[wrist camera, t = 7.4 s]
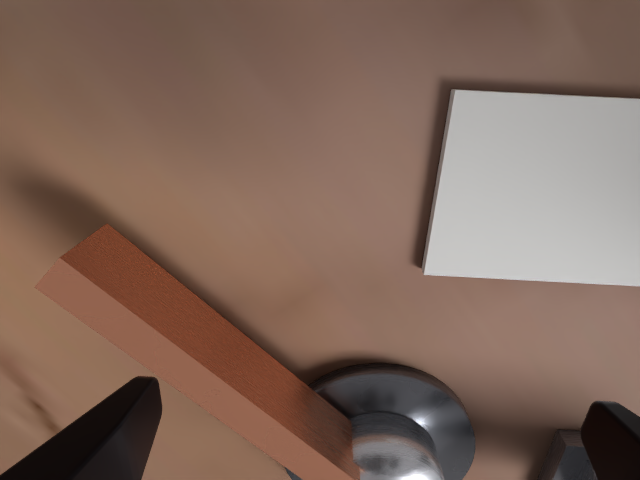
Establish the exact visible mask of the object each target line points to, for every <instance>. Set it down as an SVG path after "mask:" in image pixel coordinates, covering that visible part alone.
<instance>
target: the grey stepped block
mask: <svg viewBox="0 0 640 480" xmlns="http://www.w3.org/2000/svg"><path fill="white" fill-rule="evenodd" d="M580 432H581V431H574V430H557V431H556V434H555V436H554V439H553V441H552V444H551V446H550V449H549V451H548V454H547V457H546V459H545V462H544V464H543V467H542V469H541V472H540V474H539V477H538V479H537V480H597V478H596V475H595V473H594V470H593V468H592V465H591V463H590V461H589V458H588V456H587V453H586V451H585V448H584V446H583V443H582V440H581V433H580Z"/></svg>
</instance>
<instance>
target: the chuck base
mask: <svg viewBox="0 0 640 480" xmlns="http://www.w3.org/2000/svg"><path fill="white" fill-rule="evenodd" d="M308 387H310V388H311V389H312V390H313V391H315V392H316V393H317V394H318V395H320V396H321V397H322V398H323V399H324V400H326V401H327V402H328V403H329V404H331V405H332V406H333V407H334V408H336V409H337V410H338V411H339V412H341V413H342V414H343V415H344V416H345V417H347V418H348V419H349V418H352V417H355V416H359V415H364V414H371V413H387V414H394V415H399V416H402V417H406V418H408V419H410V420H413V421H414V422H416V423H418V424H419V425H421V426H422V427H423V428H424V429H425V430H426V431H427V432H428V433H429V434H430V435H431V437H432V439H433V441H434V443H435V446H436V450H437V454H438V457H439V461H440V465H441V469H442V472H443V476H444V480H462V479H463V477H464V476H465V475H466V473H467V472H468V470H469V468H470V466H471V464H472V461H473V458H474V453H475V437H474V431H473V429H472V426H471V423H470V421H469V418H468V415H467V413H466V410H465V408H464V406H463V404H462V402H461V401H460V399H459V398H458V397H457V395H456V394H455V393H454V392H453V391H452V390H451V389H450V388H449V387H448V386H446V385H445V384H444V383H443V382H441V381H440V380H438V379H436V378H435V377H433V376H431V375H429V374H427V373H425V372H422V371H419V370H416V369H413V368H410V367H405V366H401V365H394V364H362V365H355V366H350V367H346V368H343V369H339V370H336V371H333V372H331V373H329V374H327V375H324V376H322V377H321V378H319V379H317V380H316V381H314V382H312V383H311V384H310V385H308ZM285 469H286V471H287V473H288V474H289V476H290V477H291V479H292V480H303V479H301V478H300V477H298V476H297V475H296V474H294V473H293V472H291V471H290V470H289V469H287V468H286V467H285Z"/></svg>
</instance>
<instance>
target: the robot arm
mask: <svg viewBox="0 0 640 480" xmlns="http://www.w3.org/2000/svg"><path fill="white" fill-rule="evenodd" d="M161 415H162V402H161V395H160V389H159V383H158V380H157V379H156V378H155V377H145V376H138V377H135V378H133V379H132V380H130V381H129V382H128V383H126V384H125V385H123V386H122V387H121V388H119V389H118V390H117V391H115V392H114V393H112V394H111V395H110V396H108V397H107V398H106V399H104V400H103V401H101V402H100V403H99V404H97V405H96V406H95V407H93V408H92V409H90V410H89V411H88V412H86V413H85V414H84V415H82V416H81V417H79V418H78V419H77V420H75V421H74V422H73V423H71V424H70V425H68V426H67V427H66V428H64V429H63V430H62V431H60V432H59V433H57V434H56V435H55V436H53V437H52V438H51V439H49V440H48V441H46V442H45V443H44V444H42V445H41V446H40V447H38V448H37V449H35V450H34V451H33V452H31V453H30V454H29V455H27V456H26V457H24V458H23V459H22V460H20V461H19V462H18V463H16V464H15V465H13V466H12V467H11V468H9V469H8V470H7V471H5V472H4V473H2V474H1V475H0V480H141V479H142V475H143V472H144V469H145V466H146V463H147V460H148V457H149V454H150V450H151V447H152V444H153V441H154V438H155V435H156V432H157V429H158V425H159V422H160V419H161ZM580 433H581V440H582V443H583V446H584V448H585V451H586V453H587V456H588V458H589V461H590V463H591V465H592V468H593V470H594V473H595V475H596V478H597V480H640V417H639V416H637V415H636V414H634V413H633V412H631V411H630V410H628V409H627V408H625V407H624V406H622V405H620V404H619V403H616V402H610V401H595V402H593V403H592V404H591V406H590V408H589V411H588V413H587V415H586V418H585V420H584V422H583V425H582V427H581V432H580Z"/></svg>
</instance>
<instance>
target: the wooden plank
mask: <svg viewBox="0 0 640 480" xmlns="http://www.w3.org/2000/svg"><path fill="white" fill-rule="evenodd" d="M35 288H36V289H37V290H39V291H40V292H42V293H43V294H44V295H46V296H47V297H49V298H50V299H51V300H53V301H54V302H56V303H57V304H58V305H60V306H61V307H63V308H64V309H65V310H67V311H68V312H70V313H71V314H72V315H74V316H75V317H77V318H78V319H79V320H81V321H82V322H83V323H85V324H86V325H88V326H89V327H90V328H92V329H93V330H95V331H96V332H97V333H99V334H100V335H102V336H103V337H104V338H106V339H107V340H109V341H110V342H111V343H113V344H114V345H116V346H117V347H118V348H120V349H121V350H123V351H124V352H125V353H127V354H128V355H130V356H131V357H132V358H134V359H135V360H137V361H138V362H139V363H141V364H142V365H143V366H145V367H146V368H148V369H149V370H150V371H152V372H153V373H155V374H156V375H157V376H159V377H160V378H162V379H163V380H164V381H166V382H167V383H169V384H170V385H171V386H173V387H174V388H176V389H177V390H178V391H180V392H181V393H183V394H184V395H185V396H187V397H188V398H190V399H191V400H192V401H194V402H195V403H197V404H198V405H199V406H201V407H202V408H203V409H205V410H206V411H208V412H209V413H210V414H212V415H213V416H215V417H216V418H217V419H219V420H220V421H222V422H223V423H224V424H226V425H227V426H229V427H230V428H231V429H233V430H234V431H236V432H237V433H238V434H240V435H241V436H243V437H244V438H245V439H247V440H248V441H250V442H251V443H252V444H254V445H255V446H256V447H258V448H259V449H261V450H262V451H263V452H265V453H266V454H268V455H269V456H270V457H272V458H273V459H275V460H276V461H277V462H279V463H280V464H282V465H283V466H284V467H286V468H287V469H289V470H290V471H291V472H293V473H294V474H296V475H297V476H298V477H300V478H301V479H303V480H444V476H443V472H442V469H441V465H440V461H439V457H438V454H437V450H436V446H435V443H434V441H433V439H432V437H431V435H430V434H429V433H428V432H427V431H426V430H425V429H424V428H423V427H422V426H421V425H419V424H418V423H416V422H414V421H413V420H410V419H408V418H406V417H402V416H399V415H394V414H387V413H371V414H364V415H359V416H355V417H352V418H349V419H348V418H347V417H345V416H344V415H343V414H342V413H341V412H339V411H338V410H337V409H336V408H334V407H333V406H332V405H331V404H329V403H328V402H327V401H326V400H324V399H323V398H322V397H321V396H320V395H318V394H317V393H316V392H315V391H313V390H312V389H311V388H310V387H308V386H307V385H306V384H305V383H304V382H302V381H301V380H300V379H299V378H297V377H296V376H295V375H294V374H292V373H291V372H290V371H289V370H288V369H286V368H285V367H284V366H283V365H281V364H280V363H279V362H278V361H276V360H275V359H274V358H273V357H271V356H270V355H269V354H268V353H267V352H265V351H264V350H263V349H262V348H260V347H259V346H258V345H257V344H255V343H254V342H253V341H252V340H251V339H249V338H248V337H247V336H246V335H244V334H243V333H242V332H241V331H239V330H238V329H237V328H236V327H234V326H233V325H232V324H231V323H230V322H228V321H227V320H226V319H225V318H223V317H222V316H221V315H220V314H218V313H217V312H216V311H215V310H214V309H212V308H211V307H210V306H209V305H207V304H206V303H205V302H204V301H202V300H201V299H200V298H199V297H197V296H196V295H195V294H194V293H193V292H191V291H190V290H189V289H188V288H186V287H185V286H184V285H183V284H181V283H180V282H179V281H178V280H177V279H175V278H174V277H173V276H172V275H170V274H169V273H168V272H167V271H165V270H164V269H163V268H162V267H160V266H159V265H158V264H157V263H156V262H154V261H153V260H152V259H151V258H149V257H148V256H147V255H146V254H144V253H143V252H142V251H141V250H140V249H138V248H137V247H136V246H135V245H133V244H132V243H131V242H130V241H128V240H127V239H126V238H125V237H123V236H122V235H121V234H120V233H119V232H117V231H116V230H115V229H114V228H112V227H111V226H110V225H109V224H105V225H104V226H103V227H101V228H100V229H99V230H97V231H96V232H94V233H93V234H92V235H90V236H89V237H88V238H86V239H85V240H83V241H82V242H81V243H79V244H78V245H77V246H75V247H74V248H72V249H71V250H70V251H68V252H67V253H66V254H64V255H63V256H61V257H60V258H59V259H58V260H57V261H56V263H55V264H54V265H53V266H52V267H51V268H50V270H49V271H48V272H47V273H46V274H45V275H44V276H43V278H42V279H41V280H40V281H39V282H38V283H37V285H36V286H35Z"/></svg>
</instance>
